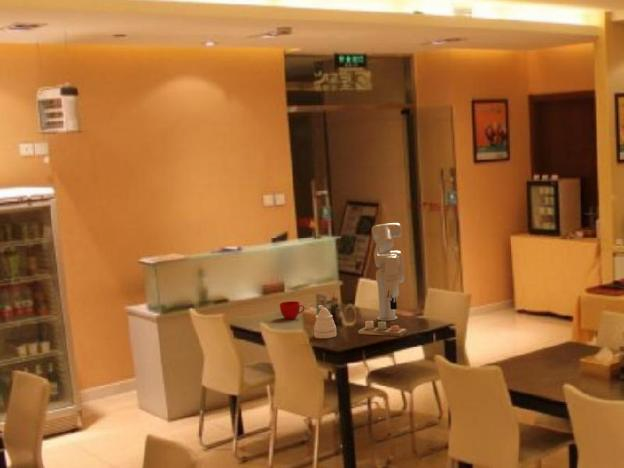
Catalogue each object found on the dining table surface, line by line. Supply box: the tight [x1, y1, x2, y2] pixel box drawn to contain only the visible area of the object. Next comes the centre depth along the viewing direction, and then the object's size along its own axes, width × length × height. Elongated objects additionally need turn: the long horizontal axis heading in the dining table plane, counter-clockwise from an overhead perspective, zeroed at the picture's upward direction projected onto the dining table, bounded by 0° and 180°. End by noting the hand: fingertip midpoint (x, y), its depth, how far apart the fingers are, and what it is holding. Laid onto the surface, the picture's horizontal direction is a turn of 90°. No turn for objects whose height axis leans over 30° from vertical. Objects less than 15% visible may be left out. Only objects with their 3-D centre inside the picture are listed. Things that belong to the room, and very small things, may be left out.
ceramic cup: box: [279, 300, 305, 320], centre depth 562 cm, size 13×17×10 cm
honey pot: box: [313, 304, 338, 339], centre depth 504 cm, size 13×13×18 cm
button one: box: [364, 320, 375, 329], centre depth 506 cm, size 5×5×4 cm
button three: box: [390, 325, 400, 332], centre depth 498 cm, size 5×5×4 cm
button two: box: [377, 321, 387, 330], centre depth 502 cm, size 5×5×4 cm
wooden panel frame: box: [357, 326, 408, 337], centre depth 502 cm, size 10×26×2 cm, turn 61°
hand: (393, 309), depth 497 cm, fingers closed
